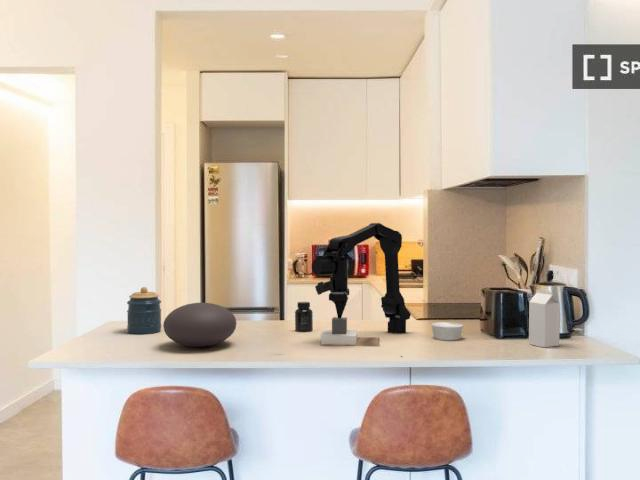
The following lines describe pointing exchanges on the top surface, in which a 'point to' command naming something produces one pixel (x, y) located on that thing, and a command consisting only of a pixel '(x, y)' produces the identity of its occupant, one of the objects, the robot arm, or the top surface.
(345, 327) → the charcoal cube
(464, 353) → the top surface
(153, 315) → the canister
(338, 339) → the socket
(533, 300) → the milk carton
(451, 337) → the ramekin
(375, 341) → the walnut board
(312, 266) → the robot arm
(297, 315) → the supplement bottle
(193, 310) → the smooth stone
